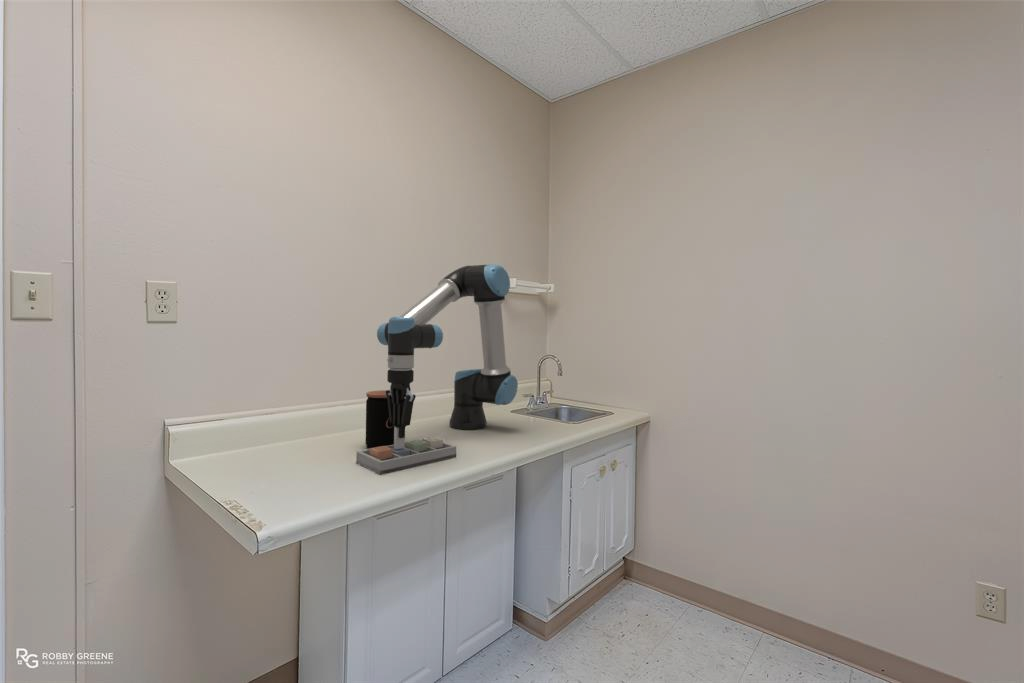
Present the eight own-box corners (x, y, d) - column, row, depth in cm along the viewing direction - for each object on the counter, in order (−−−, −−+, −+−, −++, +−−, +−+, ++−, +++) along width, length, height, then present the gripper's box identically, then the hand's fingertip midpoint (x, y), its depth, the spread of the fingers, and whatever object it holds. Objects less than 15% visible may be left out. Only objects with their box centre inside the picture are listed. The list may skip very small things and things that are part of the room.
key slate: (401, 454, 140) (401, 446, 140) (410, 457, 137) (410, 449, 136) (388, 457, 137) (388, 448, 136) (396, 460, 133) (396, 451, 133)
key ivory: (434, 443, 148) (434, 436, 148) (442, 446, 145) (443, 438, 145) (422, 446, 145) (422, 438, 145) (430, 449, 142) (430, 441, 142)
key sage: (418, 446, 144) (418, 438, 144) (427, 450, 141) (427, 441, 141) (405, 449, 141) (405, 441, 141) (414, 452, 137) (414, 444, 137)
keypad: (430, 447, 153) (430, 437, 153) (456, 457, 143) (456, 446, 143) (356, 462, 134) (356, 451, 134) (380, 474, 125) (380, 462, 124)
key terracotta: (384, 453, 136) (384, 445, 135) (392, 457, 132) (392, 448, 132) (369, 456, 132) (369, 447, 132) (377, 460, 129) (377, 451, 129)
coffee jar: (389, 451, 147) (390, 395, 147) (359, 448, 149) (359, 394, 149) (403, 443, 158) (404, 391, 157) (375, 440, 160) (376, 389, 159)
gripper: (378, 367, 138) (376, 445, 138) (401, 371, 128) (399, 455, 129) (400, 366, 143) (398, 441, 144) (423, 370, 134) (422, 450, 134)
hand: (399, 447), depth 136 cm, fingers closed
